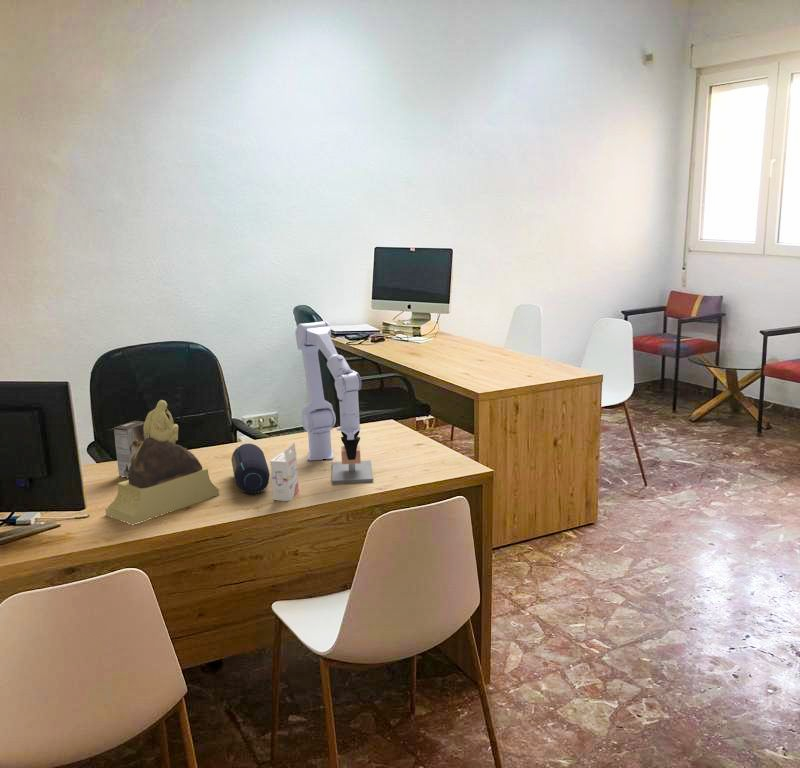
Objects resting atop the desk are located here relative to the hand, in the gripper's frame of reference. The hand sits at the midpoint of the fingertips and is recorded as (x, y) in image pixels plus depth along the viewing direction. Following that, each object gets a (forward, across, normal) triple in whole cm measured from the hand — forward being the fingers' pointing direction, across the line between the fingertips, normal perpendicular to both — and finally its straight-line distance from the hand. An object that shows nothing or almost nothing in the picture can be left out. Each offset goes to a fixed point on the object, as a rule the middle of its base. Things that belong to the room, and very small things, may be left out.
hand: (351, 456), depth 251 cm
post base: (+5, 0, 0) cm, 5 cm away
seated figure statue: (+6, +18, -53) cm, 56 cm away
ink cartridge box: (+6, +17, -19) cm, 26 cm away
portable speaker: (+6, +4, -30) cm, 31 cm away
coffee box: (+6, -11, -67) cm, 68 cm away
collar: (+1, 0, 0) cm, 1 cm away
